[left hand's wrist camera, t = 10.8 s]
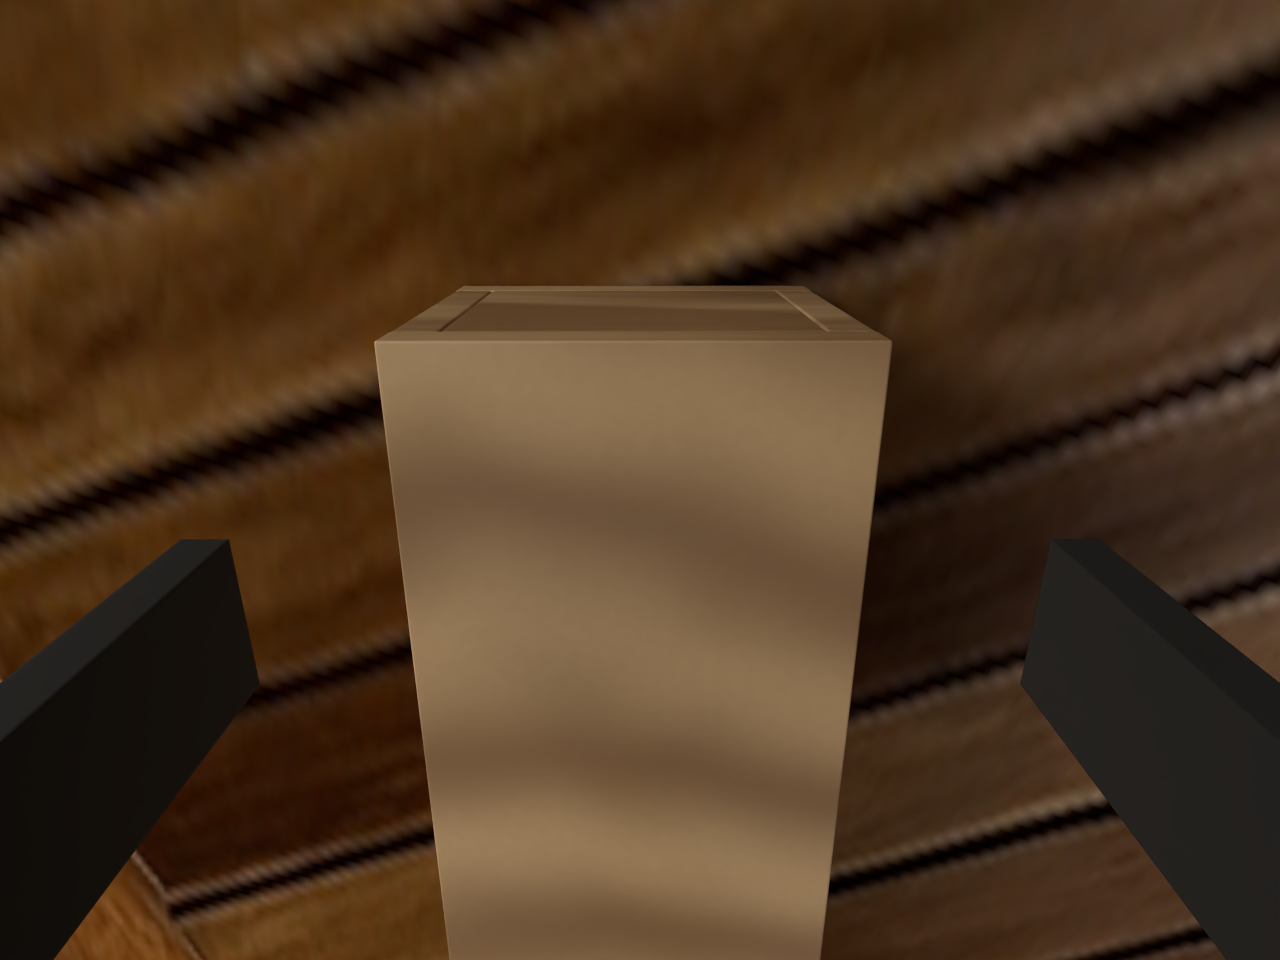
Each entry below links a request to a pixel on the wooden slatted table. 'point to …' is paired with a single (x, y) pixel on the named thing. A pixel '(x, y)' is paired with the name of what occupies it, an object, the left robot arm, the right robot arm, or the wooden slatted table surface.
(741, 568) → the cabinet
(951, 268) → the wooden slatted table surface
